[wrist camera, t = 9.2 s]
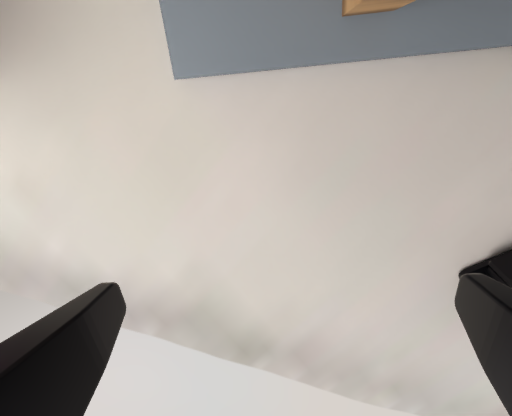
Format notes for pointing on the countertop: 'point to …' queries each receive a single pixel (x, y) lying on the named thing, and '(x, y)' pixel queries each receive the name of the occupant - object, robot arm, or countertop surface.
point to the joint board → (321, 33)
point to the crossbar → (371, 6)
